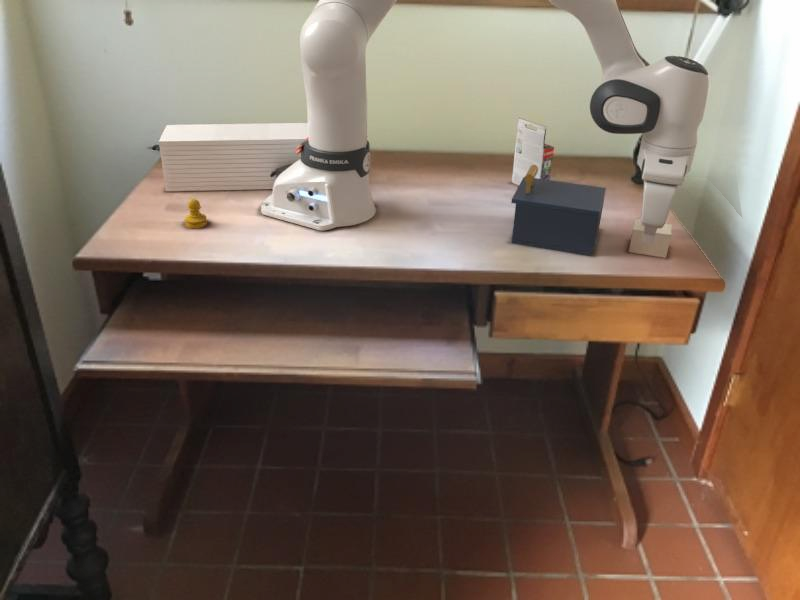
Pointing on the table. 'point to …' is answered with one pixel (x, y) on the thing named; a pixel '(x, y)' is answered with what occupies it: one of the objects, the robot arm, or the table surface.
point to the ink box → (531, 152)
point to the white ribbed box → (228, 154)
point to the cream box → (657, 246)
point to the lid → (558, 194)
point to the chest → (556, 229)
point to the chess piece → (195, 215)
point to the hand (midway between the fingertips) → (648, 230)
